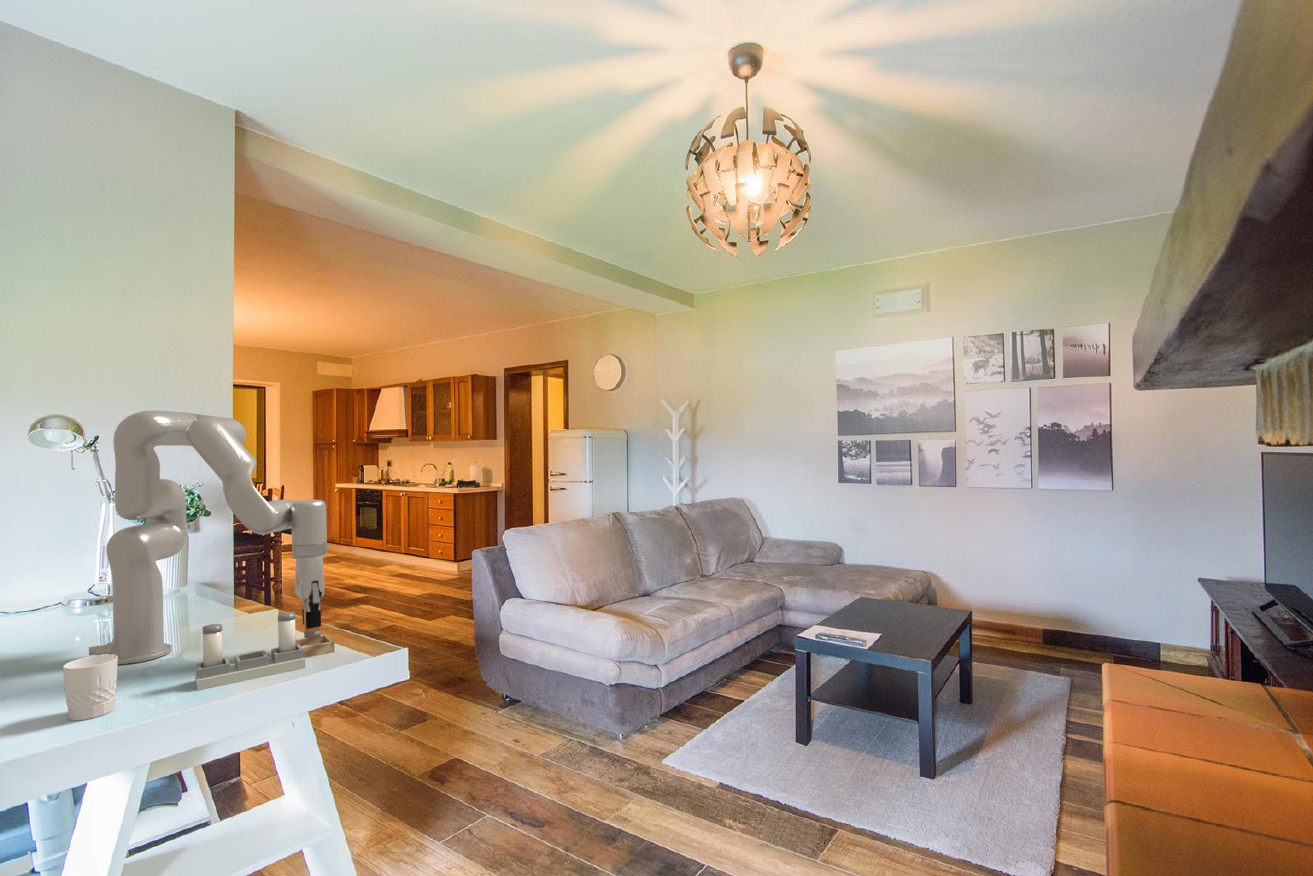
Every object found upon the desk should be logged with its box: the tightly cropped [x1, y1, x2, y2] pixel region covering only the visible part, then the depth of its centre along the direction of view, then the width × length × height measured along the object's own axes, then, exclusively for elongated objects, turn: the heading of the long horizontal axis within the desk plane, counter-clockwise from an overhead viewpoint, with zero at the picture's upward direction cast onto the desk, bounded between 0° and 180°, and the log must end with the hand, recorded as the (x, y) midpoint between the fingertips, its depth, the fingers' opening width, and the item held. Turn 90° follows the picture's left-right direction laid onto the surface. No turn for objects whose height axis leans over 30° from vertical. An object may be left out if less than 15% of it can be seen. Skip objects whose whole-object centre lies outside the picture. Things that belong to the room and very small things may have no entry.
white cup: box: [62, 654, 119, 721], centre depth 124 cm, size 8×8×10 cm
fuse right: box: [277, 611, 297, 653], centre depth 148 cm, size 4×4×10 cm
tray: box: [296, 633, 335, 659], centre depth 158 cm, size 8×8×2 cm
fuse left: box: [201, 623, 224, 668], centre depth 139 cm, size 4×4×10 cm
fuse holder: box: [194, 644, 306, 691], centre depth 143 cm, size 20×7×4 cm, turn 128°
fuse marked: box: [303, 596, 321, 638], centre depth 158 cm, size 4×4×10 cm
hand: (311, 624), depth 158 cm, fingers closed on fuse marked, 3 cm apart
